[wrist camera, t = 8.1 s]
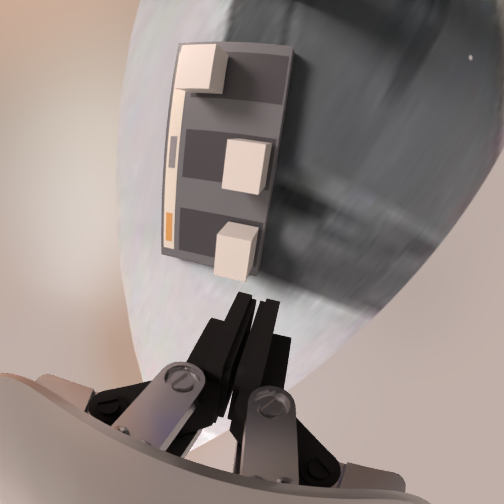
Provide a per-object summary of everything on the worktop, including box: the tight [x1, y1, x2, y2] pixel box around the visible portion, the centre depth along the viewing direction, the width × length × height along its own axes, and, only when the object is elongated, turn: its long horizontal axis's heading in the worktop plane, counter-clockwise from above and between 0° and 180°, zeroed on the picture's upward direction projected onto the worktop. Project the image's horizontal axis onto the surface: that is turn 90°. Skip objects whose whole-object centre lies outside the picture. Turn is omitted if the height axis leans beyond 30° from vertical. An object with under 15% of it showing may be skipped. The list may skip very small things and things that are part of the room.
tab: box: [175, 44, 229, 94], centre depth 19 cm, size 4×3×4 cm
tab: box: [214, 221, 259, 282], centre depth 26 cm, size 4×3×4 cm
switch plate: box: [161, 42, 294, 276], centre depth 25 cm, size 23×11×2 cm, turn 172°
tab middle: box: [222, 138, 272, 195], centre depth 22 cm, size 4×3×4 cm
